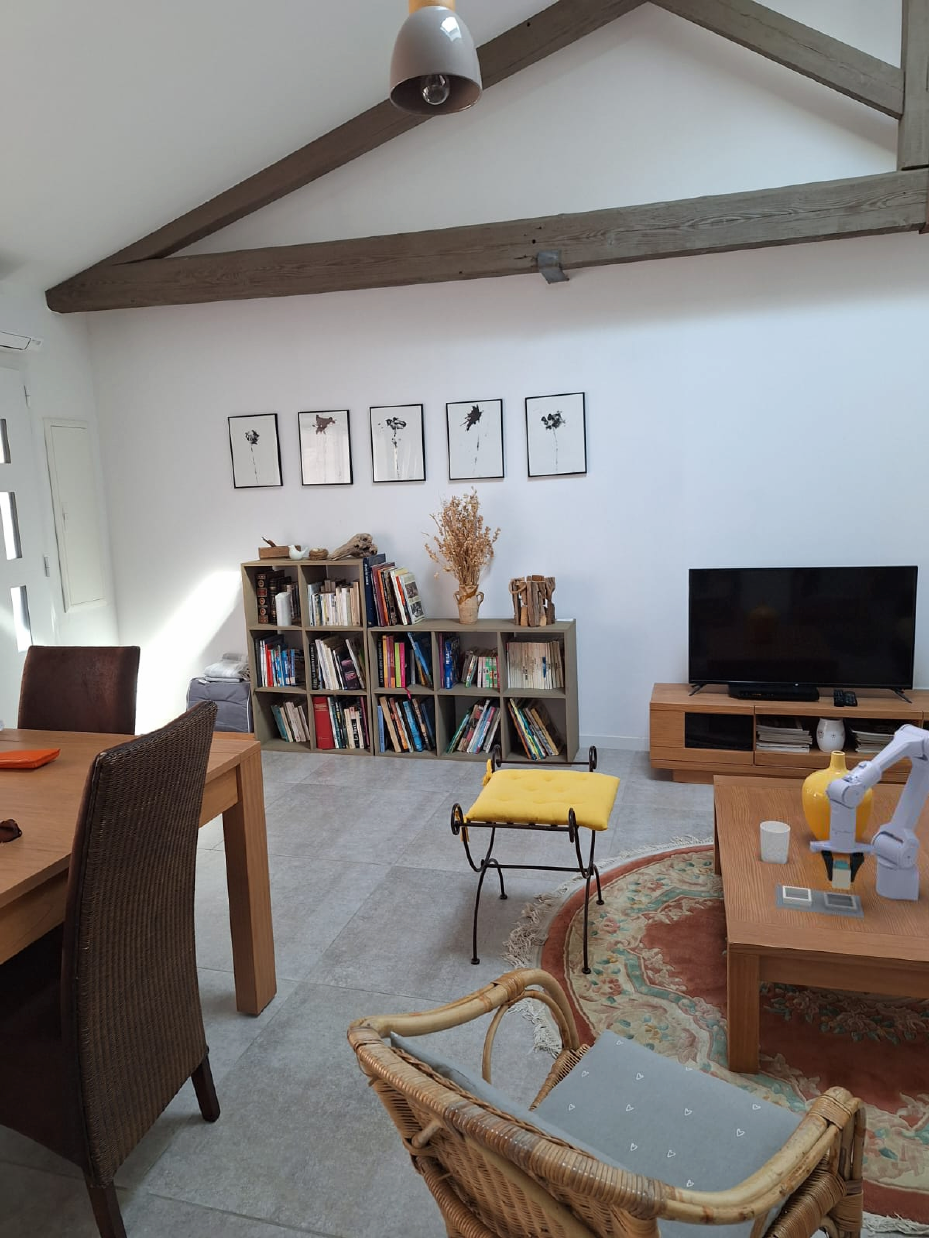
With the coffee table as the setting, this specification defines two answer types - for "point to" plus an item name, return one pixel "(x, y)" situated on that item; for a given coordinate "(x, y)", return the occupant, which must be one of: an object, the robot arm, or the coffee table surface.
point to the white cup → (774, 841)
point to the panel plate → (819, 903)
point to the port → (797, 900)
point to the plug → (841, 875)
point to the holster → (838, 907)
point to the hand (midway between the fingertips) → (840, 879)
